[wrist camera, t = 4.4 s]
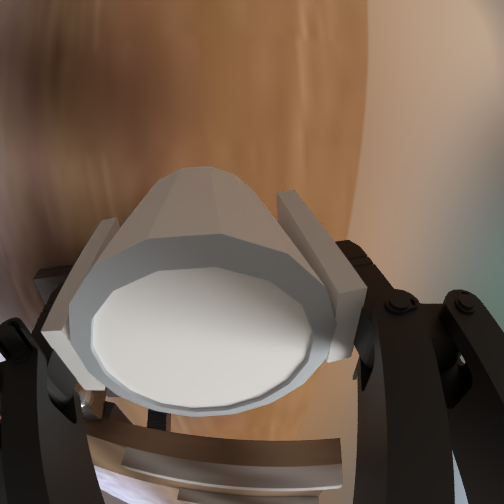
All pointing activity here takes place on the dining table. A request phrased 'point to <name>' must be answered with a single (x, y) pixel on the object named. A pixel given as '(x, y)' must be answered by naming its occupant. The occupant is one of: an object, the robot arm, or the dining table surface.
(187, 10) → the dining table surface
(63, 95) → the dining table surface
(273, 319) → the shot glass
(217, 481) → the beam
